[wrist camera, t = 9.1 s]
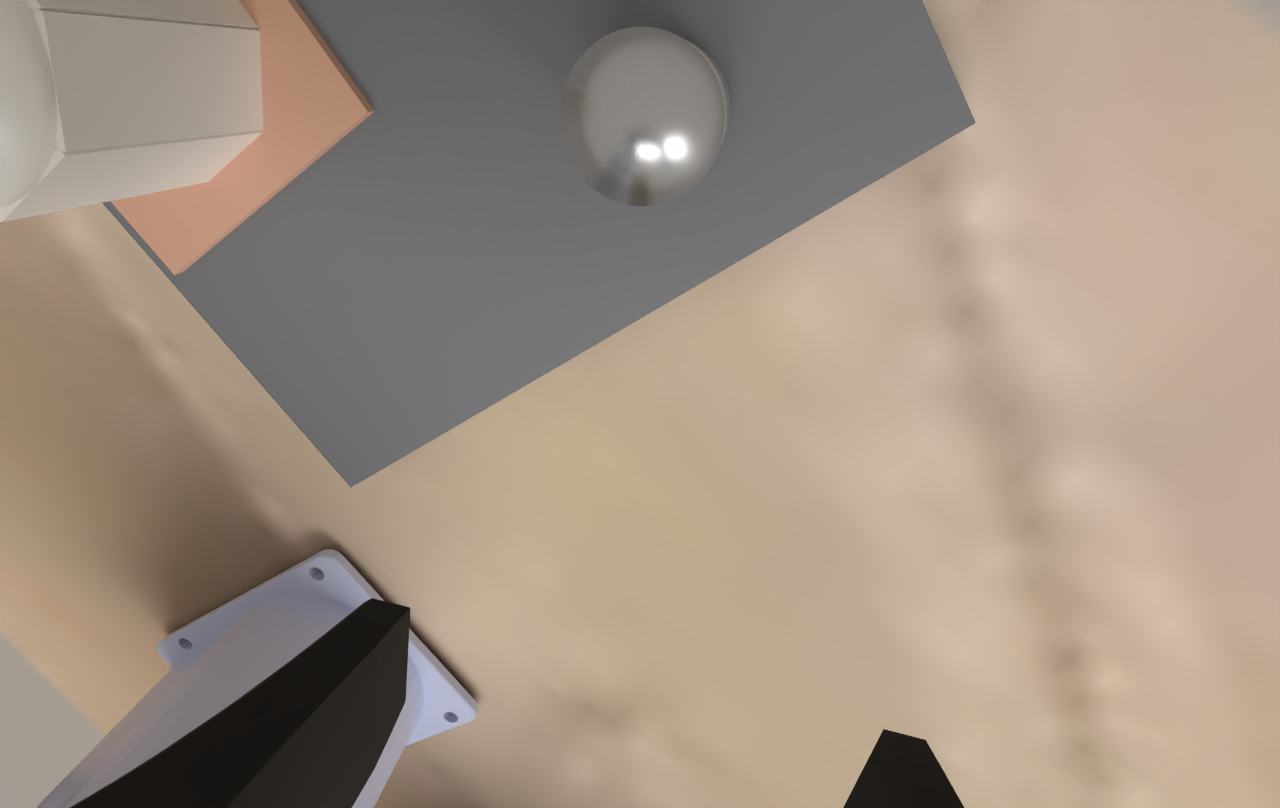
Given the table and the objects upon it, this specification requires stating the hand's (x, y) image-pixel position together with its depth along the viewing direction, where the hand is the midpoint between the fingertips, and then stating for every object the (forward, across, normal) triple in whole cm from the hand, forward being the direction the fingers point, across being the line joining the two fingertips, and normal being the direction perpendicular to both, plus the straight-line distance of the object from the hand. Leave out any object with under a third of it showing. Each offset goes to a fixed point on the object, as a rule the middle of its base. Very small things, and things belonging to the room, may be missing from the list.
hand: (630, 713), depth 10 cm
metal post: (+8, +2, -8) cm, 11 cm away
